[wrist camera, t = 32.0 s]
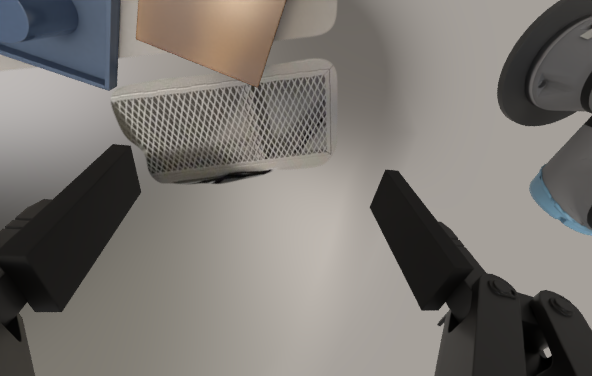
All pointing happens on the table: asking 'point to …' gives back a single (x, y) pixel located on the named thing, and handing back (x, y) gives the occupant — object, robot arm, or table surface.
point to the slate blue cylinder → (36, 19)
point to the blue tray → (78, 46)
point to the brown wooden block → (213, 32)
